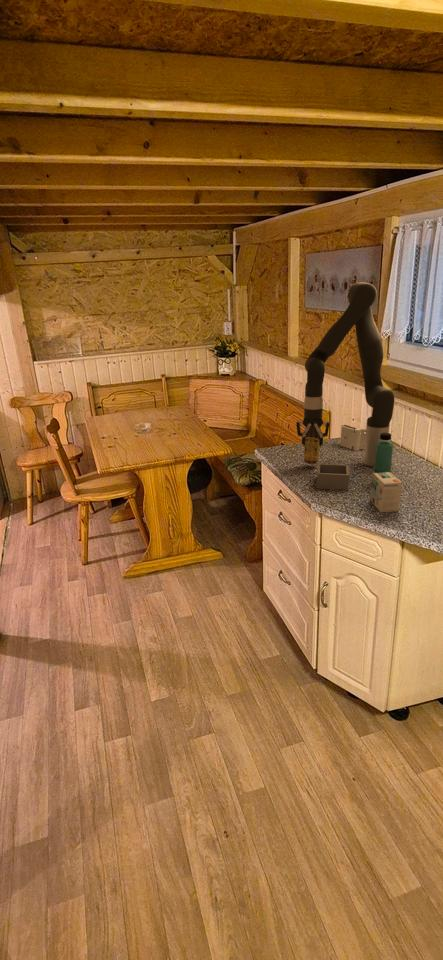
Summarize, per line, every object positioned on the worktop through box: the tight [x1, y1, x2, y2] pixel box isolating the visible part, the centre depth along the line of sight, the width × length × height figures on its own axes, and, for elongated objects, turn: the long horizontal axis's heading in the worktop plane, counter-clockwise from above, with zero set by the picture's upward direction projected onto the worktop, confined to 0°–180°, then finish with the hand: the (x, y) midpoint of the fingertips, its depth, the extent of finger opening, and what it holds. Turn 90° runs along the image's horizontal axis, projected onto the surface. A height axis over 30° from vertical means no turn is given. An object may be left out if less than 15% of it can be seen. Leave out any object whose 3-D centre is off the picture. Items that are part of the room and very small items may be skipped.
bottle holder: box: [316, 463, 350, 491], centre depth 201 cm, size 12×12×6 cm
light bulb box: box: [369, 471, 403, 513], centre depth 179 cm, size 11×7×11 cm, turn 5°
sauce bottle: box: [303, 420, 320, 465], centre depth 216 cm, size 6×6×20 cm
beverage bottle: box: [373, 432, 394, 473], centre depth 198 cm, size 6×7×20 cm
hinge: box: [339, 424, 366, 451], centre depth 241 cm, size 14×5×10 cm, turn 44°
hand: (312, 445), depth 216 cm, fingers closed on sauce bottle, 6 cm apart
